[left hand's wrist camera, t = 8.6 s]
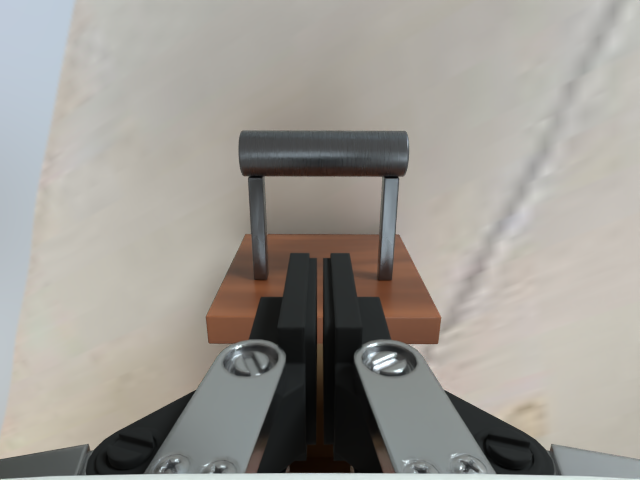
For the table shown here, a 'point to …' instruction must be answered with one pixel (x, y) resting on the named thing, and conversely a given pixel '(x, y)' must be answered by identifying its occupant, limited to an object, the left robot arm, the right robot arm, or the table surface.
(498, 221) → the table surface
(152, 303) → the table surface
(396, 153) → the drawer
